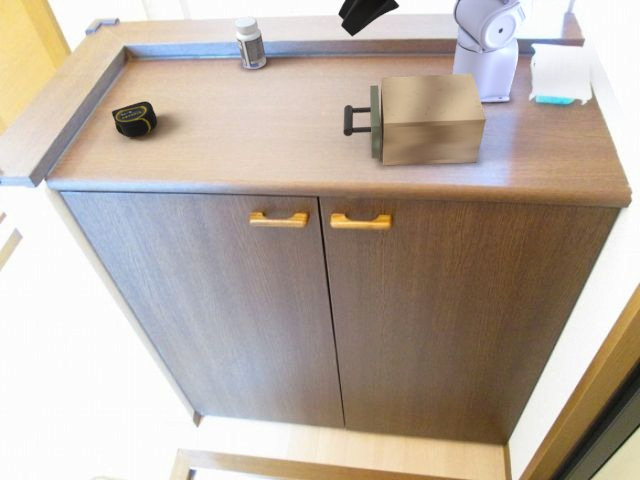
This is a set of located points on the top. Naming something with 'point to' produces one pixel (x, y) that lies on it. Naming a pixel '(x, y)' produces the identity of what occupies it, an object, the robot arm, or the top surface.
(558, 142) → the top surface
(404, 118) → the cabinet
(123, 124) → the tape measure
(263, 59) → the pill bottle
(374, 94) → the drawer
